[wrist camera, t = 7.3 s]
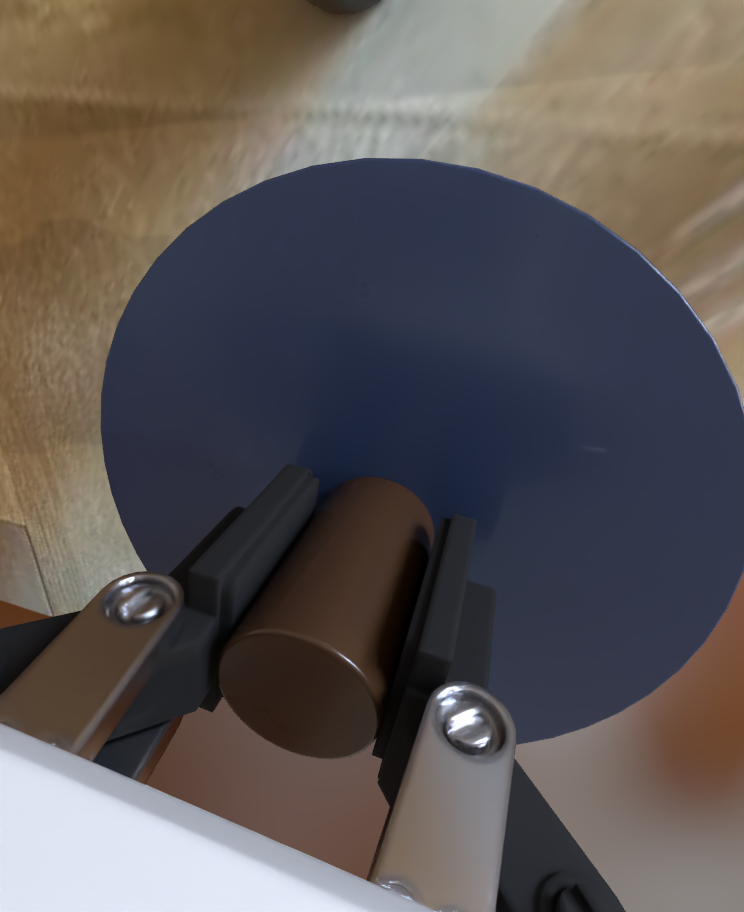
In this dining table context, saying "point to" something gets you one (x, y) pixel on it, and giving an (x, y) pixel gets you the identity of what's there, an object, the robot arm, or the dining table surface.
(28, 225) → the dining table surface
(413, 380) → the pan lid
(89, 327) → the dining table surface
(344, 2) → the supplement bottle
